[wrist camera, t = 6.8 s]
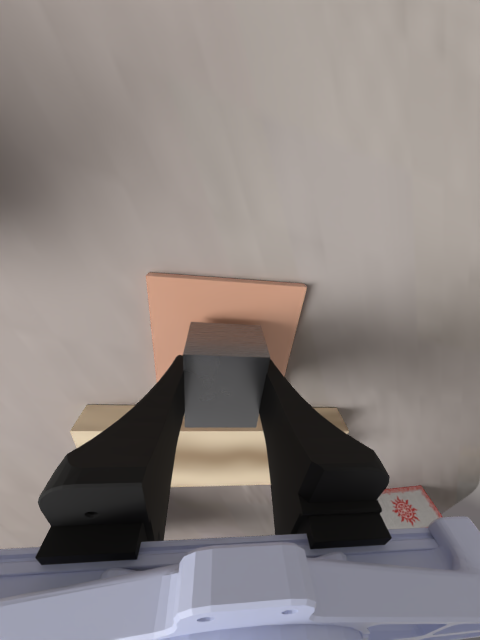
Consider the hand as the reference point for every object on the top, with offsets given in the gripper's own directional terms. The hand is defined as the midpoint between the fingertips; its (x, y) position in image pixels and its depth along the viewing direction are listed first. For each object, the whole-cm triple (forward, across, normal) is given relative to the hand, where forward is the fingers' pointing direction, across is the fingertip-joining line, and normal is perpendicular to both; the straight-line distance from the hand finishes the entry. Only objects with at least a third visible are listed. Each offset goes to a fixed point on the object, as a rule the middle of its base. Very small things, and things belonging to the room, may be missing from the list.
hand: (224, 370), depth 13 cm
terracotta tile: (+3, 0, 0) cm, 3 cm away
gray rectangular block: (+1, 0, 0) cm, 1 cm away
